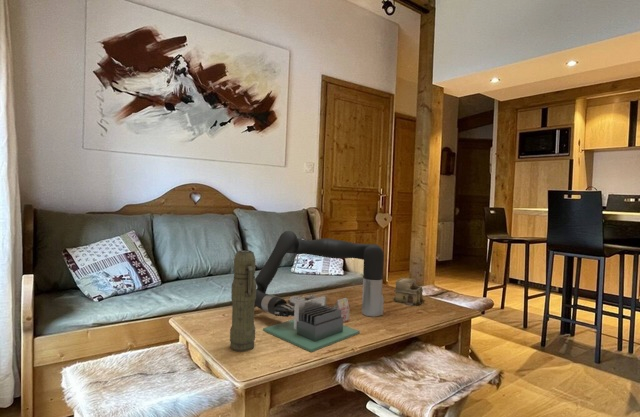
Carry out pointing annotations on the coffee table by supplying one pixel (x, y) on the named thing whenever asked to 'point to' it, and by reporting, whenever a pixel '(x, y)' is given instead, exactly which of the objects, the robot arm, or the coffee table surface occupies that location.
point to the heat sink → (312, 327)
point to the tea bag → (343, 308)
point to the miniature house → (408, 292)
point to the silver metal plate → (312, 305)
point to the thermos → (243, 302)
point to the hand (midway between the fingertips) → (300, 315)
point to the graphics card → (305, 299)
